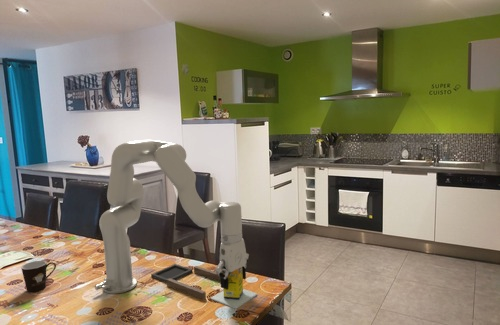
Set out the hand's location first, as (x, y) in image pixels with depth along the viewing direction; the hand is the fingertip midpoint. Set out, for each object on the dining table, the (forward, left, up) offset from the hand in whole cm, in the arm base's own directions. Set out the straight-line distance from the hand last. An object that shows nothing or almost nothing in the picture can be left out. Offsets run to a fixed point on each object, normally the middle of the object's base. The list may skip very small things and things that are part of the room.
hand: (233, 283), depth 129 cm
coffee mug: (-38, +69, -6) cm, 79 cm away
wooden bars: (0, +18, -5) cm, 19 cm away
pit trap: (0, +34, -5) cm, 35 cm away
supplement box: (0, 0, -5) cm, 5 cm away
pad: (0, 0, -5) cm, 5 cm away
